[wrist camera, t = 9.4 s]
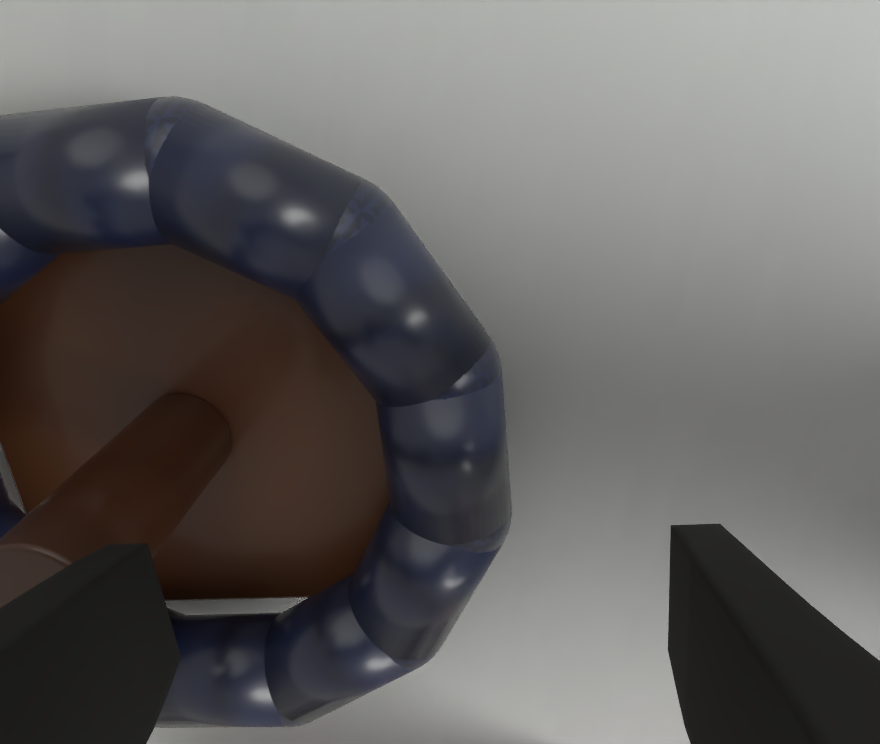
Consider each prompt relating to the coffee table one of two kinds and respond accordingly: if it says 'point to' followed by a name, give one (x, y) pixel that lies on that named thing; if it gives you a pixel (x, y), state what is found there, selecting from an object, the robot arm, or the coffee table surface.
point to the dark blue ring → (347, 330)
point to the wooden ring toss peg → (182, 429)
